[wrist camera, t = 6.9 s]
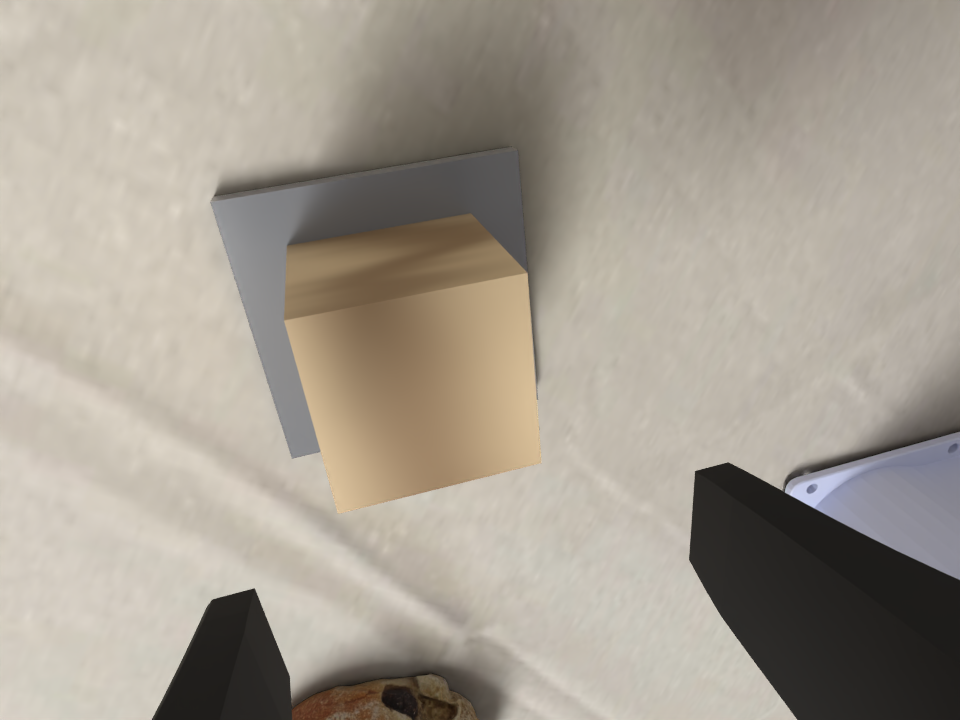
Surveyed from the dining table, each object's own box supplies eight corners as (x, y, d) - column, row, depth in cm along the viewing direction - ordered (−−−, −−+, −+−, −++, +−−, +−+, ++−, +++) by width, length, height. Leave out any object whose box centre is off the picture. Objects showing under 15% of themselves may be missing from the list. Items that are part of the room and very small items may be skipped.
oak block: (470, 213, 18) (527, 272, 13) (488, 369, 20) (541, 463, 16) (286, 245, 17) (284, 320, 12) (328, 404, 19) (338, 513, 15)
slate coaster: (511, 146, 18) (517, 150, 17) (532, 391, 22) (537, 399, 21) (212, 196, 16) (210, 201, 16) (292, 447, 20) (292, 458, 20)
